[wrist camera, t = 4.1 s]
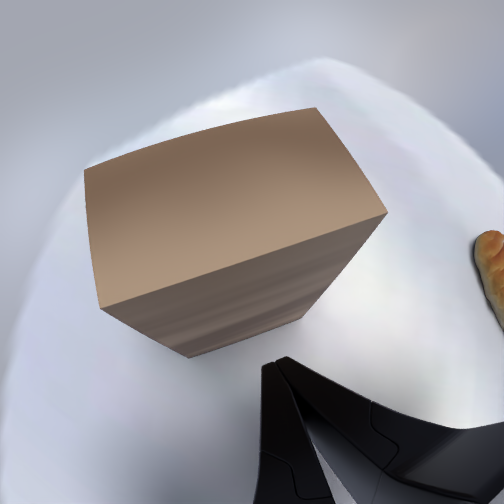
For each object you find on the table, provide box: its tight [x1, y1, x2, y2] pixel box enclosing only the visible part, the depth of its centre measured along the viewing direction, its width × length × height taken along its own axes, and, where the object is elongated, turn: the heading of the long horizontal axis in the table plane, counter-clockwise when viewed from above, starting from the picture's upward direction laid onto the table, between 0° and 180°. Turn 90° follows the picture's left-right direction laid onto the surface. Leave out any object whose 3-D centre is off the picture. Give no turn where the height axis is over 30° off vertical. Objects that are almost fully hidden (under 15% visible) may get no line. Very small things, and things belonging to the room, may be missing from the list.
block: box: [84, 107, 388, 358], centre depth 13 cm, size 4×7×12 cm, turn 111°
